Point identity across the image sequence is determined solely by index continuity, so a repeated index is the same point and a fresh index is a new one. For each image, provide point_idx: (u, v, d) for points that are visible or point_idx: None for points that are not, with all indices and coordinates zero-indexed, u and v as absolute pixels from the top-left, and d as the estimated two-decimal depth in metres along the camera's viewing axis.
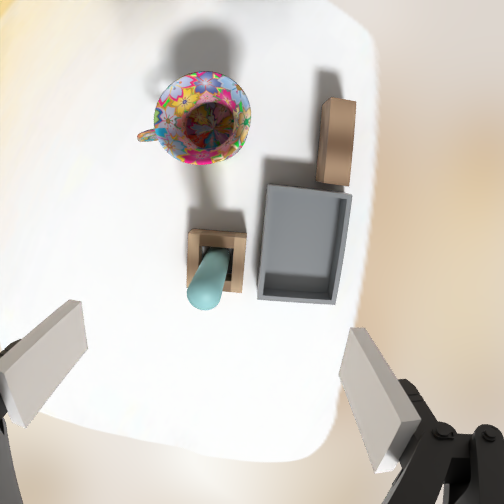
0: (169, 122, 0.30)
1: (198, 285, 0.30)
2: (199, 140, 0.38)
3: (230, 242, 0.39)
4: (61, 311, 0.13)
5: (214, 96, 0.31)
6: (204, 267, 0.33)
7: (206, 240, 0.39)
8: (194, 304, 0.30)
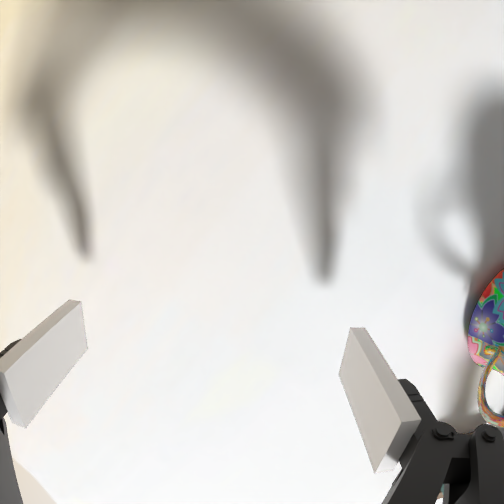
0: None
1: None
2: None
3: None
4: (61, 311, 0.13)
5: None
6: None
7: None
8: None
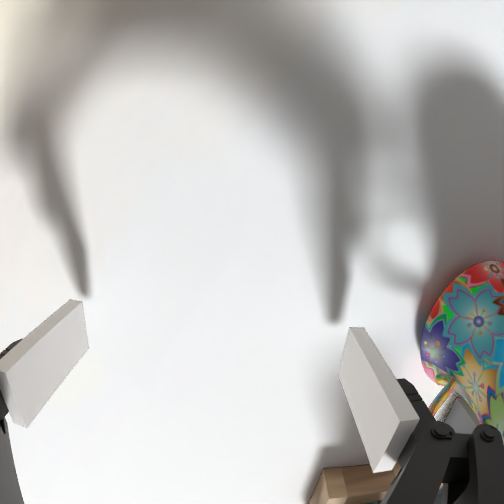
0: None
1: None
2: None
3: None
4: (62, 311, 0.13)
5: None
6: None
7: (356, 500, 0.17)
8: None
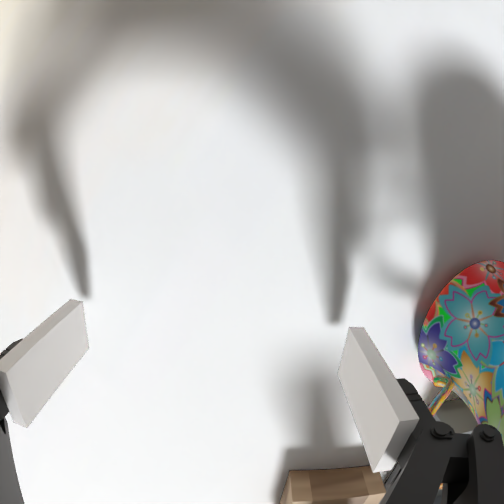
0: None
1: None
2: None
3: (361, 500, 0.17)
4: (62, 311, 0.13)
5: None
6: None
7: None
8: None
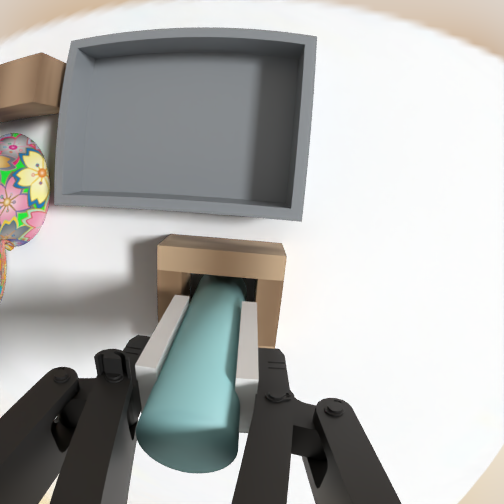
0: None
1: (160, 450, 0.09)
2: None
3: (169, 277, 0.18)
4: (175, 306, 0.15)
5: None
6: None
7: None
8: (221, 464, 0.09)
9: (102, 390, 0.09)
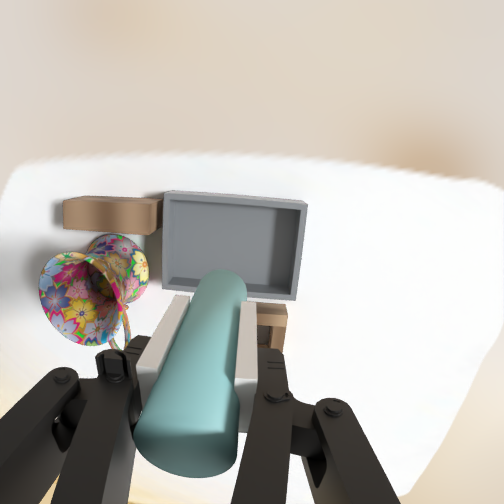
0: (98, 327, 0.29)
1: (158, 455, 0.08)
2: None
3: None
4: (176, 306, 0.15)
5: (71, 284, 0.30)
6: None
7: None
8: (220, 469, 0.08)
9: (103, 390, 0.09)
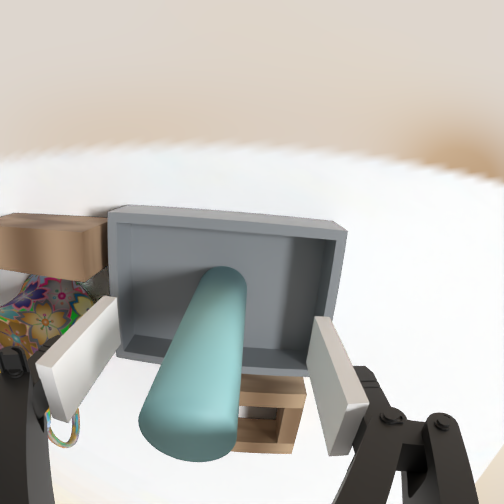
0: None
1: (161, 439, 0.09)
2: None
3: None
4: (98, 307, 0.14)
5: None
6: None
7: None
8: (220, 452, 0.09)
9: (7, 386, 0.07)
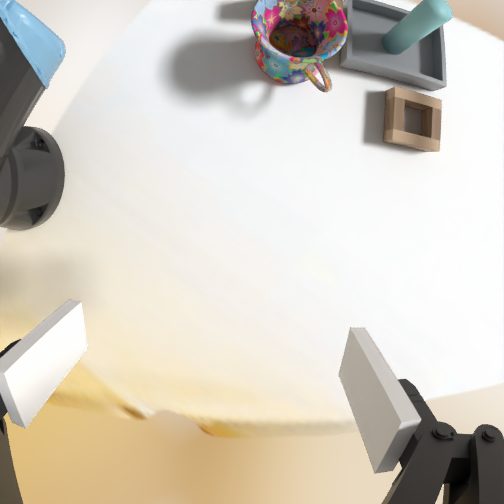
0: (308, 57, 0.27)
1: (433, 8, 0.20)
2: None
3: (399, 100, 0.33)
4: (61, 311, 0.13)
5: (267, 33, 0.28)
6: (413, 18, 0.24)
7: (398, 123, 0.34)
8: (449, 17, 0.20)
9: None
